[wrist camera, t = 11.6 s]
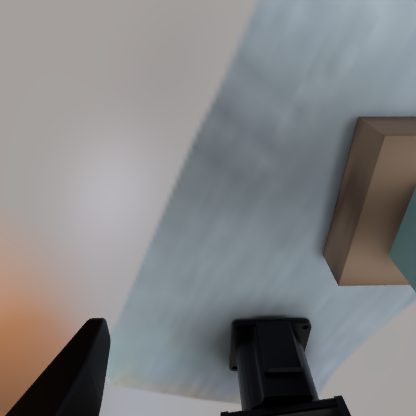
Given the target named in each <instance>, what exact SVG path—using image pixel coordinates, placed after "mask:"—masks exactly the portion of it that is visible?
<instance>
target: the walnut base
mask: <svg viewBox="0 0 416 416" xmlns="http://www.w3.org/2000/svg"><path fill="white" fill-rule="evenodd" d="M415 187H416V117H359V118H358V122H357V126H356V130H355V134H354V137H353V141H352V145H351V149H350V153H349V157H348V161H347V165H346V168H345V172H344V176H343V180H342V184H341V188H340V192H339V196H338V200H337V203H336V207H335V211H334V215H333V219H332V223H331V227H330V231H329V235H328V238H327V242H326V246H325V250H324V254H323V256H324V258H325V260H326V262H327V264H328V266H329V268H330V270H331V272H332V274H333V276H334V278H335V280H336V282H337V284H338V286H356V285H410V284H409V282H408V281H407V280H406V278H405V277H404V276H403V274H402V273H401V272H400V270H399V269H398V268H397V266H396V265H395V264H394V262H393V261H392V260H391V258H390V257H389V256H388V255H389V253H390V250H391V248H392V245H393V243H394V240H395V238H396V235H397V233H398V230H399V227H400V225H401V222H402V220H403V217H404V215H405V212H406V210H407V207H408V205H409V202H410V200H411V197H412V195H413V192H414V190H415Z"/></svg>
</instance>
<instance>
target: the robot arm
mask: <svg viewBox="0 0 416 416" xmlns="http://www.w3.org/2000/svg"><path fill="white" fill-rule="evenodd" d="M310 330H311V324H310V321H309V320H306V319H298V320H248V321H235V322H233V323H232V331H231V345H230V358H229V368H230V370H232V371H238V378H239V387H240V396H241V405H242V411H238V412H230V413H228V411H226V412H221V416H351V415H350V413H349V411H348V408H347V406H346V404H345V402H344V399H343V397H342V396H334V398H331V399H323V400H319V399H318V395H317V392H316V389H315V385H314V382H313V379H312V376H311V372H310V369H309V366H308V363H307V359H306V356H305V353H304V352H305V348H306V345H307V341H308V337H309V334H310ZM109 350H110V334H109V330H108V326H107V322H106V320H105V319H104V318H92V319H89V320H88V321H87V322H86V323H85V324H84V325H83V326H82V327H81V329H80V330H79V331H78V332H77V333H76V334H75V335H74V337H73V338H72V339H71V340H70V341H69V342H68V344H67V345H66V346H65V347H64V348H63V350H62V351H61V352H60V353H59V354H58V355H57V356H56V358H55V359H54V360H53V361H52V362H51V363H50V364H49V366H48V367H47V368H46V369H45V370H44V371H43V373H42V374H41V375H40V376H39V377H38V378H37V379H36V381H35V382H34V383H33V384H32V385H31V386H30V388H29V389H28V390H27V391H26V392H25V393H24V395H23V396H22V397H21V398H20V399H19V400H18V401H17V403H16V404H15V405H14V406H13V407H12V408H11V410H10V411H9V412H8V413H7V414H6V415H5V416H99V412H100V407H101V402H102V396H103V390H104V383H105V377H106V370H107V363H108V357H109Z"/></svg>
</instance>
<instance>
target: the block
mask: <svg viewBox="0 0 416 416" xmlns="http://www.w3.org/2000/svg"><path fill="white" fill-rule="evenodd" d="M388 256H389V257H390V258H391V260H392V261H393V262H394V264H395V265H396V266H397V268H398V269H399V270H400V272H401V273H402V274H403V276H404V277H405V278H406V280H407V281H408V282H409V284H410V285H411V286H412V288H413V289H414V290H415V292H416V187H415V190H414V192H413V195H412V197H411V200H410V202H409V205H408V207H407V210H406V212H405V215H404V217H403V220H402V222H401V225H400V227H399V230H398V233H397V235H396V238H395V240H394V243H393V245H392V248H391V250H390V253H389V255H388Z"/></svg>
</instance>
